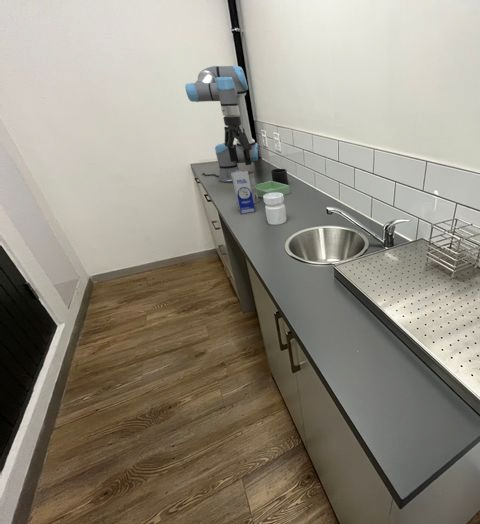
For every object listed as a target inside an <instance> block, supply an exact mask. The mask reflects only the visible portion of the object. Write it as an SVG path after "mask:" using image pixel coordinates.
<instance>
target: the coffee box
mask: <svg viewBox="0 0 480 524" xmlns="http://www.w3.org/2000/svg"><path fill="white" fill-rule="evenodd" d="M243 171H244V170H242V172H243ZM247 171H248V176H249V181H250V186H251V192H252V197H253V202H254V205H255V204H256V203H258V202H259V197H258V195H257V189H256V185H257V183H256V179H255V172H254V171H251V170H247ZM234 173H235V172H234Z"/></svg>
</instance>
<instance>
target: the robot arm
mask: <svg viewBox="0 0 480 524" xmlns="http://www.w3.org/2000/svg"><path fill="white" fill-rule="evenodd" d="M184 87H185V92H186V96H187V98H188V100H189V101H190V102H192V103H193V102H194V103H200V102H201V103H202V102H219V104H220V109H221V113H222V116H223V123H224V127H223V128H224V142H222V143H218V144H216V145H215V147H214V150H215V155H216V159H217V163H218V168H219V172H218V175H217V174H214V173H212V174H211V173H210V174H206V173H205V172H202V175H204V176H206V177H210V176H212V177H213V176H215V177H216V178H218V181H219V182H220V183H233V180H232V176H231V173H234V172H235V170H240V168H239V165H238V164H245V166H251V165H252V163H256V162H258V161H259V145H258V143H257V142H256V140H255V139H254V138H253V137H252V131H251V126H250V125H251V124H250V120H249V115H248V110H247V103H246V99H245V98H246V97H245V96H246V95H247V91H249V86H248V83H247V79H246V76H245V72H244V70H243V68H242V66H238V65H214V66H213V65H212V66H209V67H206V68H203V69H202V70H201V71H200V72H199V73H198V75H197V80H196V81H195V82H189V83H186V84H185V85H184ZM235 140H236V141H235ZM234 142H235V144H234Z"/></svg>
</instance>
